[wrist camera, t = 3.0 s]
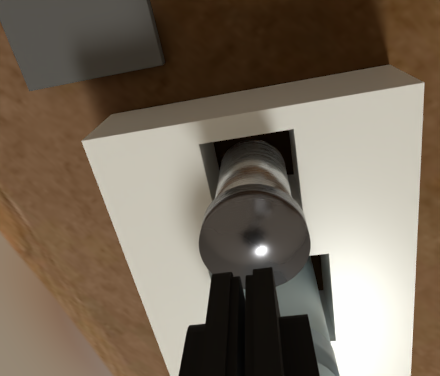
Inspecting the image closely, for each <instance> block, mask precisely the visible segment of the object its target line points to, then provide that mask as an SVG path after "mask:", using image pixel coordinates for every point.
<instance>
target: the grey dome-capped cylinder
mask: <svg viewBox="0 0 440 376" xmlns="http://www.w3.org/2000/svg"><path fill="white" fill-rule="evenodd" d="M310 248H311V241H310V235H309V231H308V227H307V223H306V219H305V216H304V213H303V211H302V209H301V207H300V206H299V204H298V203H297V202H296V201H295V200H294V199H293V198H292V196H291V191H290V186H289V182H288V177H287V172H286V167H285V162H284V159H283V157H282V155H281V153H280V152H279V151H278V150H277V148H275V147H274V146H273V145H271V144H270V143H268V142H265V141H262V140H257V139H250V140H244V141H241V142H238V143H236V144H235V145H233V146H232V147H231V148H229V149H228V150H227V152H226V153H225V155H224V156H223V158H222V161H221V166H220V172H219V178H218V184H217V190H216V196H215V199H214V200H213V201H212V202H211V203H210V205H209V206H208V208H207V210H206V212H205V214H204V217H203V221H202V226H201V231H200V236H199V252H200V255H201V258H202V261H203V262H204V264H205V266H206V267H207V269H208V270H209V271H210V272H211V273H212V274H215V273H224V272H232V273H233V276H234V277H236V276H240V278H241V282H242V286H243V289H245V277H246V275H253V273H252V272H253V269H260V268H268V267H272V268H273V274H274V280H275V286H276V287H277V286H279V285H282V284H284V283H286V282H288V281H289V280H291V279H292V278H294V277H295V276H296V275H297V274H298V273H299V272H300V271H301V270H302V268H303V267H304V266H305V264H306V262H307V260H308V257H309V254H310Z"/></svg>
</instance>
